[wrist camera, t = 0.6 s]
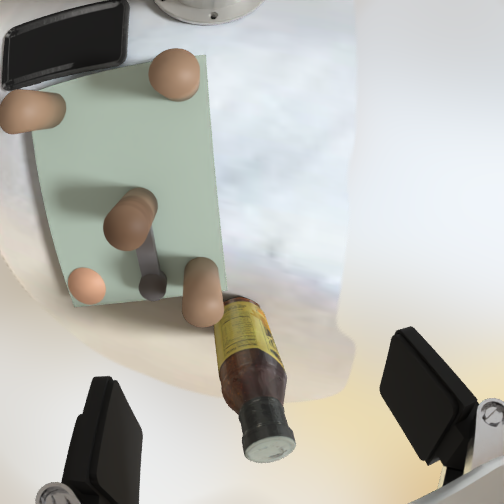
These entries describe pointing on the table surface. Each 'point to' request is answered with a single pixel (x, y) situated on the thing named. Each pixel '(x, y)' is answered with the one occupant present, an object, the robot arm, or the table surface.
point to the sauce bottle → (253, 380)
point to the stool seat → (129, 177)
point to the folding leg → (138, 238)
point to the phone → (66, 44)
